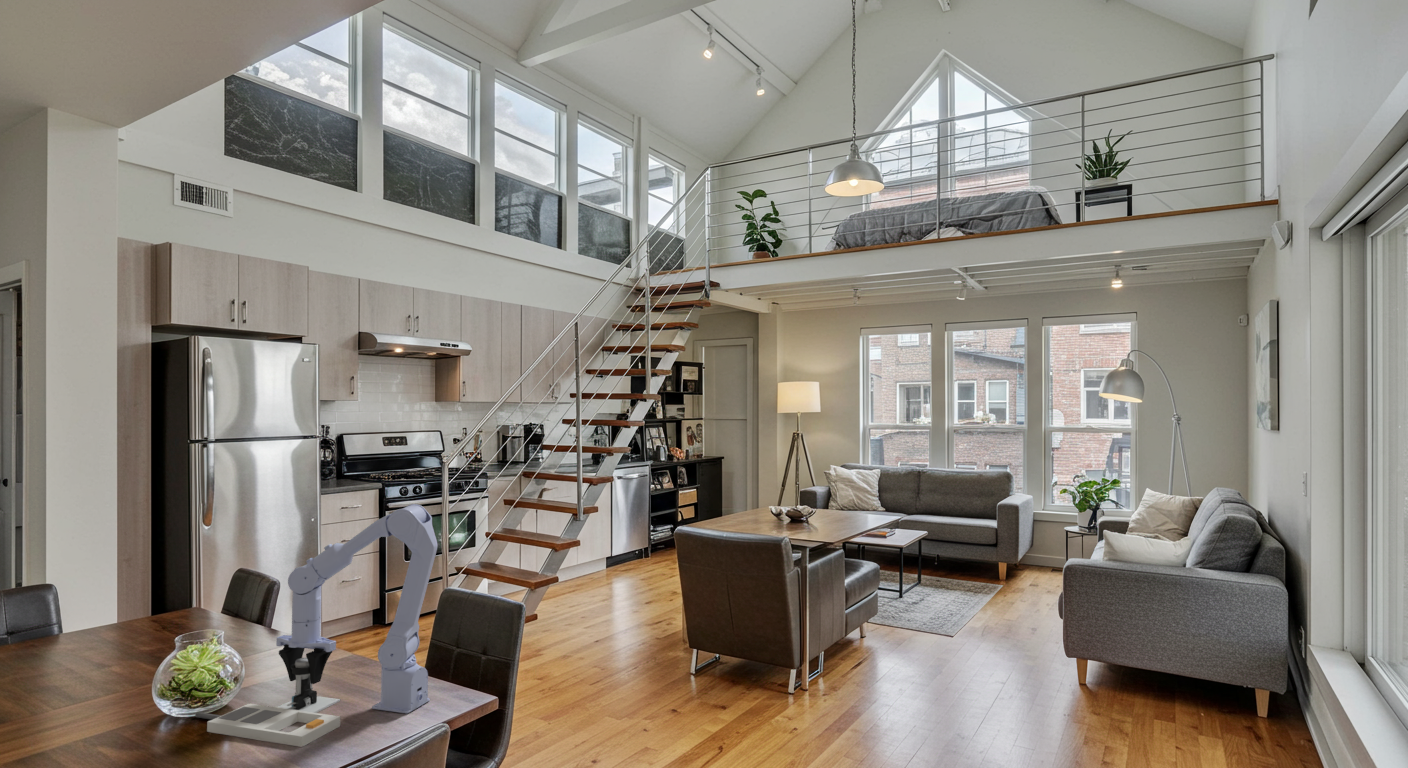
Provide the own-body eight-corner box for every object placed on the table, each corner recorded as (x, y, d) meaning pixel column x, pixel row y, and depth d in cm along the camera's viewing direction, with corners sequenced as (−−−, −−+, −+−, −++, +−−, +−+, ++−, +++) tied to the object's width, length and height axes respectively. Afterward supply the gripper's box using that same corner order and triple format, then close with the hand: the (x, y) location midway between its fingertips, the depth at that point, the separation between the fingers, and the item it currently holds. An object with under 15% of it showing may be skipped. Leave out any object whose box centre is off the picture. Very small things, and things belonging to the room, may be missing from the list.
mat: (340, 701, 169) (340, 699, 169) (305, 718, 159) (305, 716, 159) (304, 696, 172) (304, 694, 172) (267, 713, 162) (267, 711, 162)
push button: (296, 714, 161) (297, 667, 161) (278, 710, 163) (279, 663, 163) (322, 703, 167) (323, 657, 167) (305, 699, 169) (306, 654, 169)
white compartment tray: (340, 726, 156) (340, 713, 156) (301, 746, 146) (302, 733, 146) (217, 707, 165) (217, 696, 165) (173, 726, 155) (174, 713, 155)
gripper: (265, 621, 165) (264, 683, 164) (319, 626, 160) (317, 691, 160) (291, 612, 171) (290, 672, 171) (343, 618, 167) (342, 679, 167)
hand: (305, 681), depth 166 cm, fingers closed on push button, 5 cm apart
